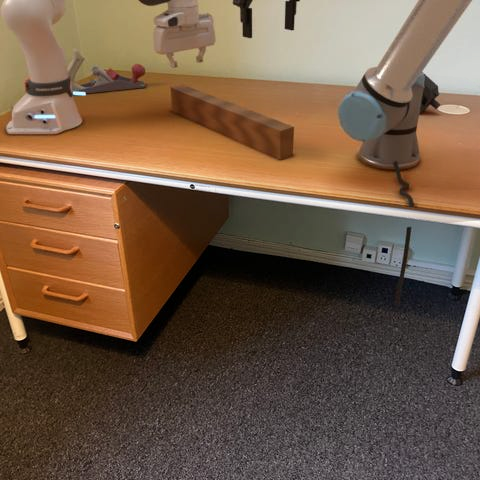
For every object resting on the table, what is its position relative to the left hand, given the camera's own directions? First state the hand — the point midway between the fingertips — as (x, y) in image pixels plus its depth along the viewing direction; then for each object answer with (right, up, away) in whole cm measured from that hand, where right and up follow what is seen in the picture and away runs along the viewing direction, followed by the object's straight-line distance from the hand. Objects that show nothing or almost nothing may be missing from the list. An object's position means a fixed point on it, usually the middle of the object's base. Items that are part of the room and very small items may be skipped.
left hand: (187, 64), depth 163 cm
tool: (+70, -11, +10) cm, 72 cm away
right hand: (+23, -3, -33) cm, 40 cm away
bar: (+12, -21, -4) cm, 25 cm away
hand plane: (-34, +2, +35) cm, 49 cm away
